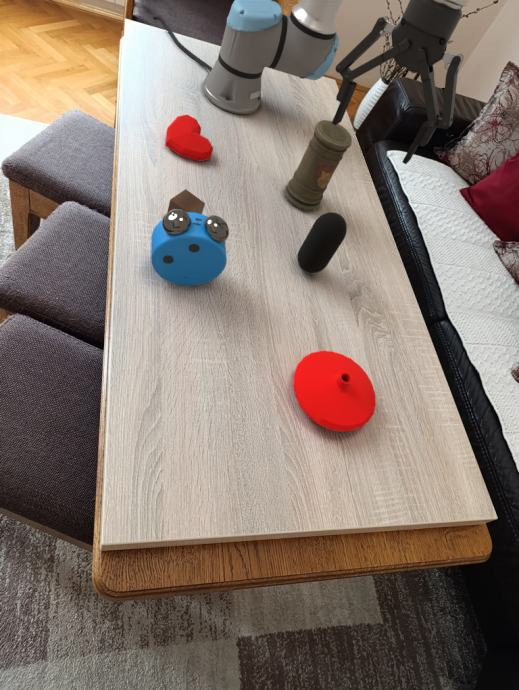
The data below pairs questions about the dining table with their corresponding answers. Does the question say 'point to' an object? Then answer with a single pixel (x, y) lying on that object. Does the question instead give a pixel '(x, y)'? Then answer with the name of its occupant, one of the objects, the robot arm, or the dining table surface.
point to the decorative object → (322, 242)
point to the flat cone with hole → (334, 391)
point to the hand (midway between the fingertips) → (370, 141)
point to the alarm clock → (189, 247)
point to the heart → (188, 139)
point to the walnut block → (186, 203)
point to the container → (318, 165)
